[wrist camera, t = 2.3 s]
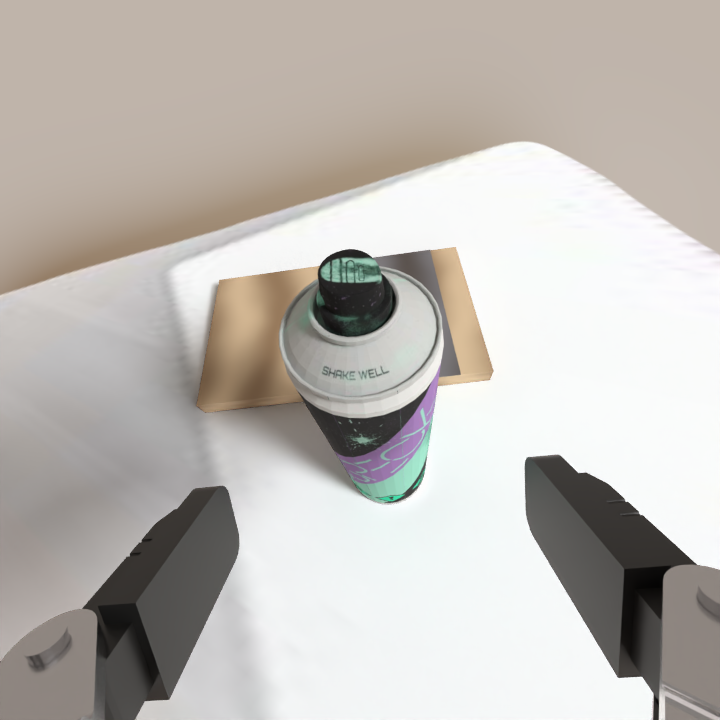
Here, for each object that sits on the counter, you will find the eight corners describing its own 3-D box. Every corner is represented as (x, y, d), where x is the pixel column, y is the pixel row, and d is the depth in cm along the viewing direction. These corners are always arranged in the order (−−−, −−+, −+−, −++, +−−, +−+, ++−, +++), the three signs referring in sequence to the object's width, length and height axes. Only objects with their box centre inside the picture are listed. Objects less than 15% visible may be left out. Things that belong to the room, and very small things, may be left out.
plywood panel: (205, 412, 30) (195, 405, 29) (225, 289, 38) (218, 279, 36) (489, 380, 29) (493, 370, 28) (454, 258, 36) (455, 246, 35)
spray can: (336, 457, 27) (214, 263, 10) (394, 416, 28) (371, 179, 11) (379, 521, 25) (311, 404, 7) (440, 473, 26) (502, 276, 9)
